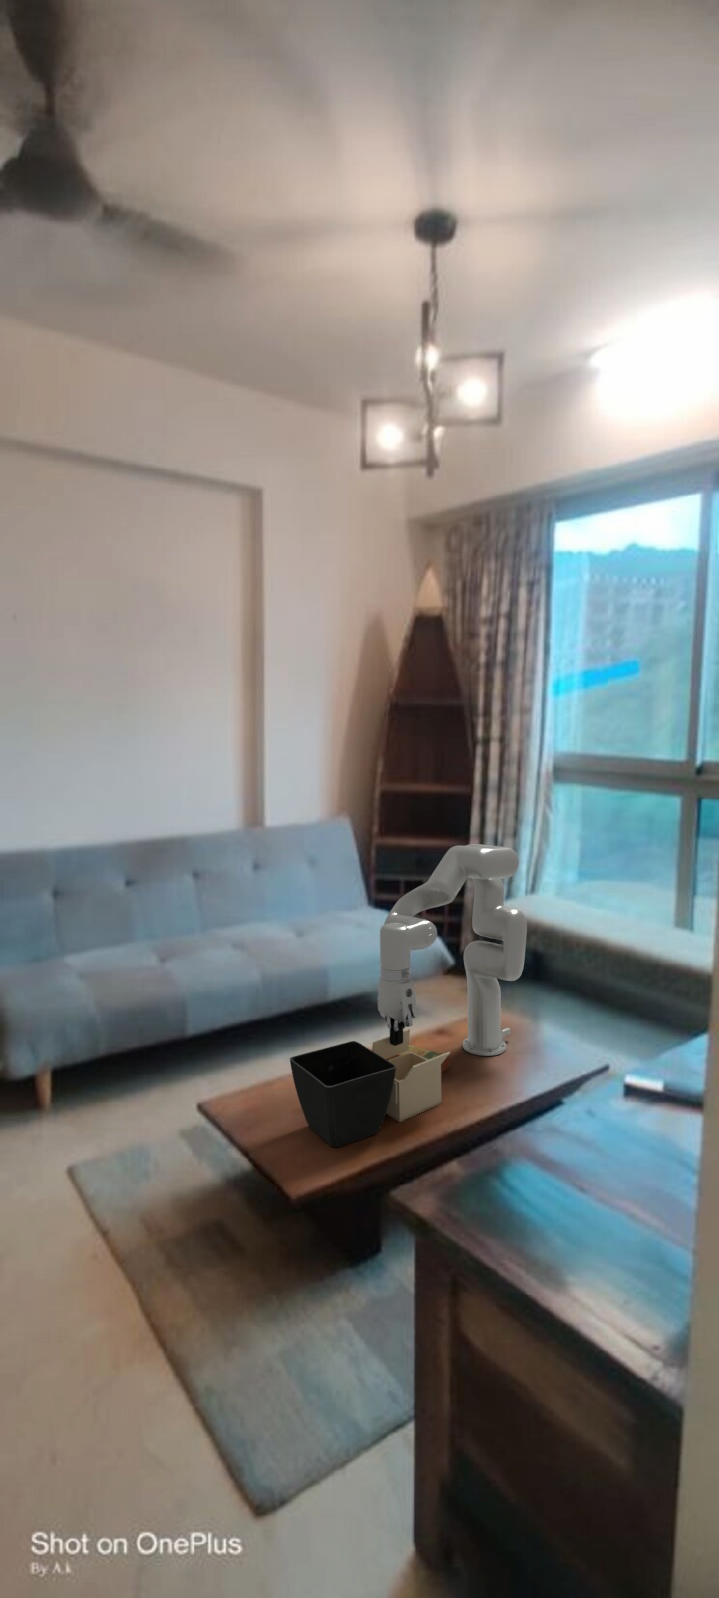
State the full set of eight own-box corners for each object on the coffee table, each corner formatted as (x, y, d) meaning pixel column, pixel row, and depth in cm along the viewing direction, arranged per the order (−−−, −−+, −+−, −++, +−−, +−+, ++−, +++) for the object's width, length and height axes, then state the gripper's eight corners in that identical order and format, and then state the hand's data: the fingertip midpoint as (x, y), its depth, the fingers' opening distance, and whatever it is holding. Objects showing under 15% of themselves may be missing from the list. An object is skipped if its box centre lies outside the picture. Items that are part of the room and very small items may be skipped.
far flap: (408, 1050, 206) (407, 1049, 206) (409, 1029, 204) (408, 1029, 205) (372, 1064, 198) (371, 1063, 198) (373, 1042, 197) (372, 1042, 197)
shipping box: (413, 1087, 207) (412, 1051, 206) (442, 1102, 199) (442, 1064, 198) (369, 1106, 198) (368, 1068, 197) (398, 1123, 190) (397, 1083, 189)
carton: (402, 1055, 228) (401, 1040, 228) (450, 1069, 219) (450, 1054, 218) (385, 1065, 222) (385, 1050, 221) (434, 1080, 212) (433, 1065, 212)
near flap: (449, 1051, 193) (450, 1052, 193) (439, 1064, 197) (440, 1065, 197) (412, 1066, 186) (413, 1067, 186) (402, 1079, 189) (403, 1080, 189)
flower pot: (356, 1102, 200) (354, 1038, 199) (399, 1134, 185) (398, 1065, 183) (289, 1124, 190) (287, 1057, 189) (329, 1160, 175) (327, 1087, 173)
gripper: (427, 976, 194) (428, 1048, 196) (386, 963, 206) (387, 1031, 208) (405, 983, 190) (406, 1057, 191) (364, 969, 201) (365, 1039, 203)
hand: (396, 1043), depth 200 cm, fingers closed
